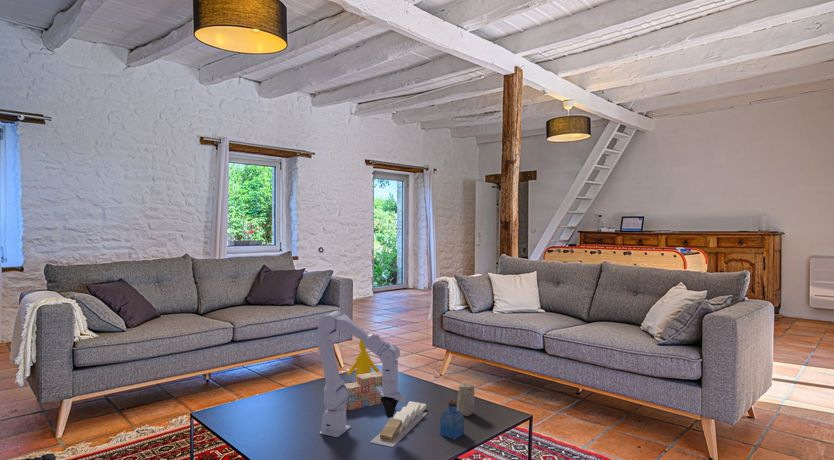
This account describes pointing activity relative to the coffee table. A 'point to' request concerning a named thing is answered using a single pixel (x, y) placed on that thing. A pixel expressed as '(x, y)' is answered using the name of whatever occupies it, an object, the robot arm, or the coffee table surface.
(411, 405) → the domino
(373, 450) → the coffee table surface
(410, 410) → the domino
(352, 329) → the robot arm
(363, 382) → the stack of blocks
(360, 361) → the figure statuette
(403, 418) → the domino
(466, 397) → the carving
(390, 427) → the ochre tile
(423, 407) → the domino
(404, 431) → the felt strip
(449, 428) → the perfume bottle
